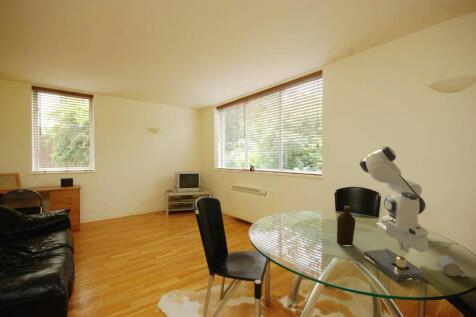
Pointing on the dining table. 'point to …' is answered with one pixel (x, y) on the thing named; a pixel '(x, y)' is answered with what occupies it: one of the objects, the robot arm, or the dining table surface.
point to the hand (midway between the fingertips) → (403, 250)
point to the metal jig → (387, 265)
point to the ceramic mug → (450, 266)
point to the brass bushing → (401, 263)
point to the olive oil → (345, 227)
